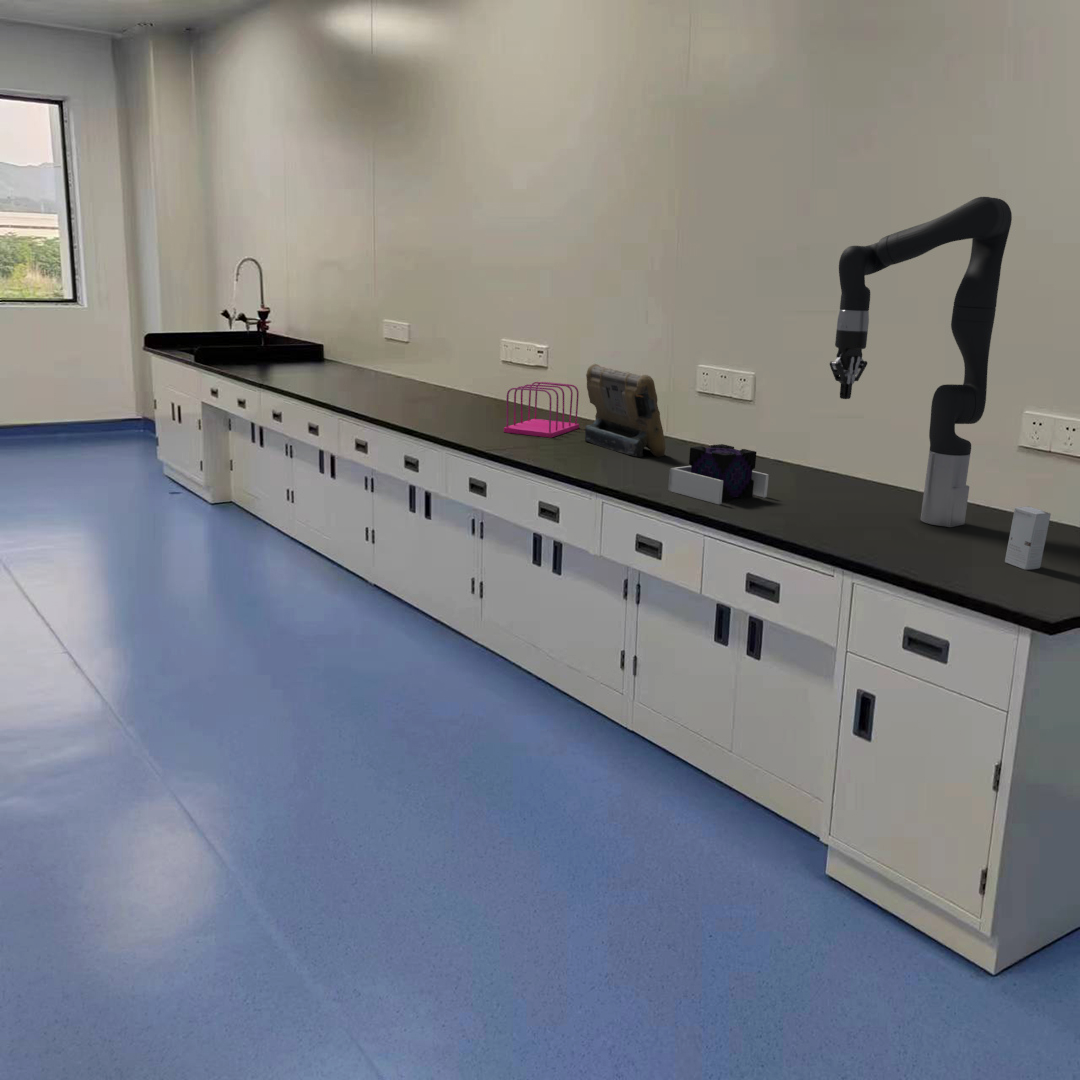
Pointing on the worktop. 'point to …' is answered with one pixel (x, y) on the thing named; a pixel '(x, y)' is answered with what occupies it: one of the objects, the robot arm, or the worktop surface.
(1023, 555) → the skincare box
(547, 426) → the file sorter
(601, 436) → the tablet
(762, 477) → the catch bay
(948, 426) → the robot arm
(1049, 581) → the worktop surface
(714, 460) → the energy cube
